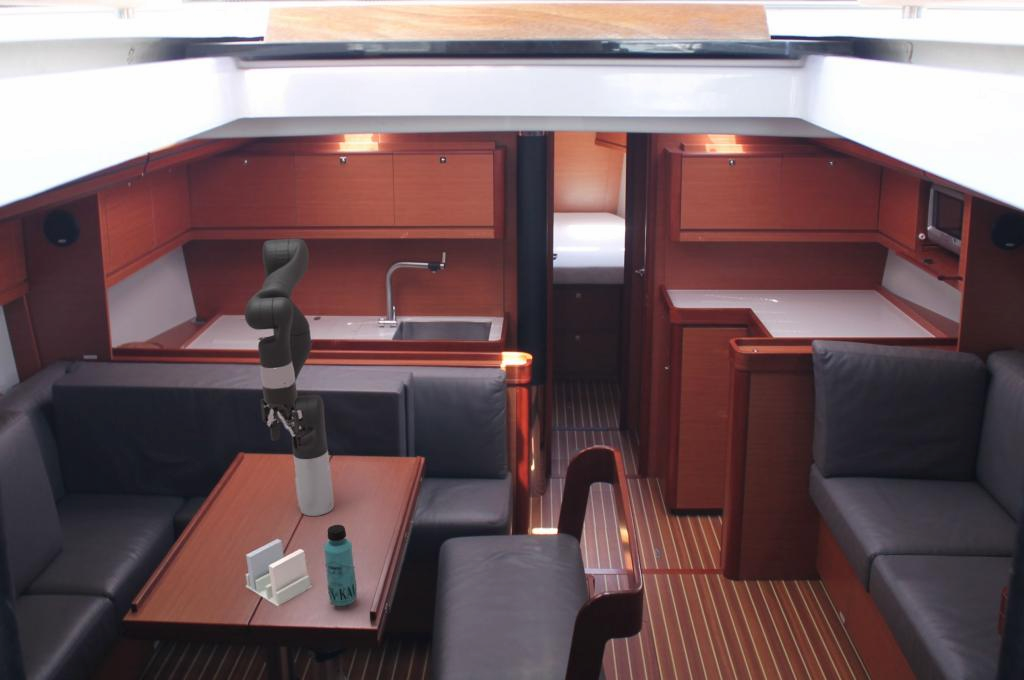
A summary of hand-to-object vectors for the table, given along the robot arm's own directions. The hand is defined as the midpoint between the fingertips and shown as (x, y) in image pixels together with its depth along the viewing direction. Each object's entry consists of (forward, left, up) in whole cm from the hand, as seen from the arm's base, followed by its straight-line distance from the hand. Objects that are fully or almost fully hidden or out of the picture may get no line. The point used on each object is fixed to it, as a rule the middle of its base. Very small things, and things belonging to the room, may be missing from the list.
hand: (287, 444), depth 229 cm
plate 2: (+8, -9, -32) cm, 35 cm away
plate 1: (0, -10, -32) cm, 34 cm away
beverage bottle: (+21, -4, -33) cm, 40 cm away
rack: (+4, -10, -33) cm, 35 cm away
